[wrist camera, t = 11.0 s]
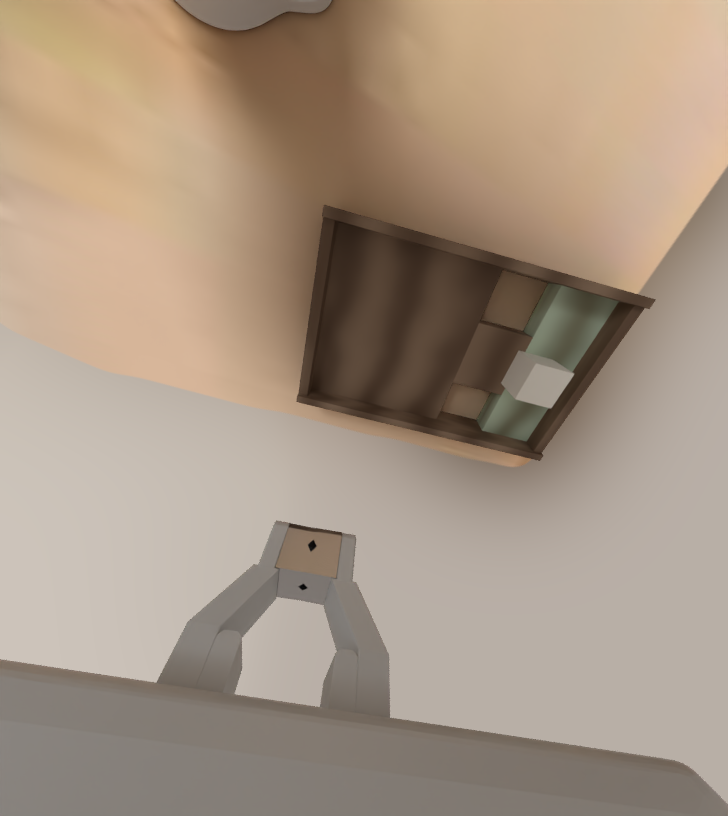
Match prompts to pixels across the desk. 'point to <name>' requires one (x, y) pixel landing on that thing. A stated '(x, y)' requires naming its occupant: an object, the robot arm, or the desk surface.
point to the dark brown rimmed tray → (445, 334)
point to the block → (536, 379)
